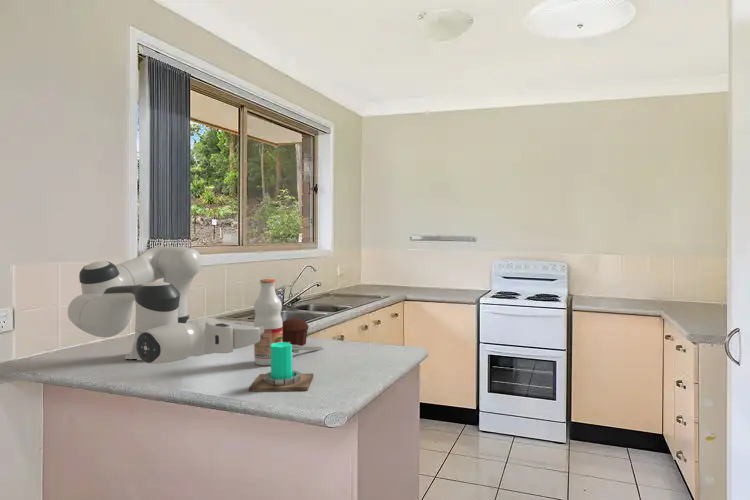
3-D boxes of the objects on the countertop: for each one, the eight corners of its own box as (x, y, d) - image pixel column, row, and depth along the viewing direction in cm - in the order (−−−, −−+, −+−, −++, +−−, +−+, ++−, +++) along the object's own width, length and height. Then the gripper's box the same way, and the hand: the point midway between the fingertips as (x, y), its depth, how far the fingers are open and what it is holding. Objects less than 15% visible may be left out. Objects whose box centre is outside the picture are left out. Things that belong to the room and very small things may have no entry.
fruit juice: (254, 360, 179) (253, 278, 178) (282, 358, 181) (281, 277, 180) (254, 367, 170) (253, 281, 169) (283, 365, 172) (282, 280, 171)
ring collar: (260, 385, 145) (260, 379, 145) (268, 375, 156) (268, 370, 156) (298, 385, 145) (298, 379, 145) (303, 375, 156) (303, 369, 156)
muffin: (306, 340, 212) (306, 315, 211) (312, 346, 201) (311, 320, 201) (276, 342, 208) (276, 317, 207) (281, 348, 197) (280, 322, 197)
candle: (272, 378, 153) (271, 337, 152) (292, 377, 153) (292, 336, 153) (270, 383, 147) (269, 341, 146) (292, 383, 147) (291, 340, 147)
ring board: (249, 391, 143) (249, 387, 143) (260, 377, 157) (260, 374, 157) (307, 390, 143) (307, 387, 143) (313, 376, 157) (313, 373, 157)
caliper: (285, 360, 179) (284, 342, 179) (282, 360, 180) (282, 342, 179) (324, 349, 196) (323, 333, 195) (321, 349, 196) (321, 332, 196)
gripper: (182, 343, 136) (226, 334, 147) (232, 354, 124) (276, 343, 135) (182, 319, 136) (226, 312, 147) (231, 327, 123) (276, 319, 134)
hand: (250, 327), depth 140 cm, fingers open, 8 cm apart
